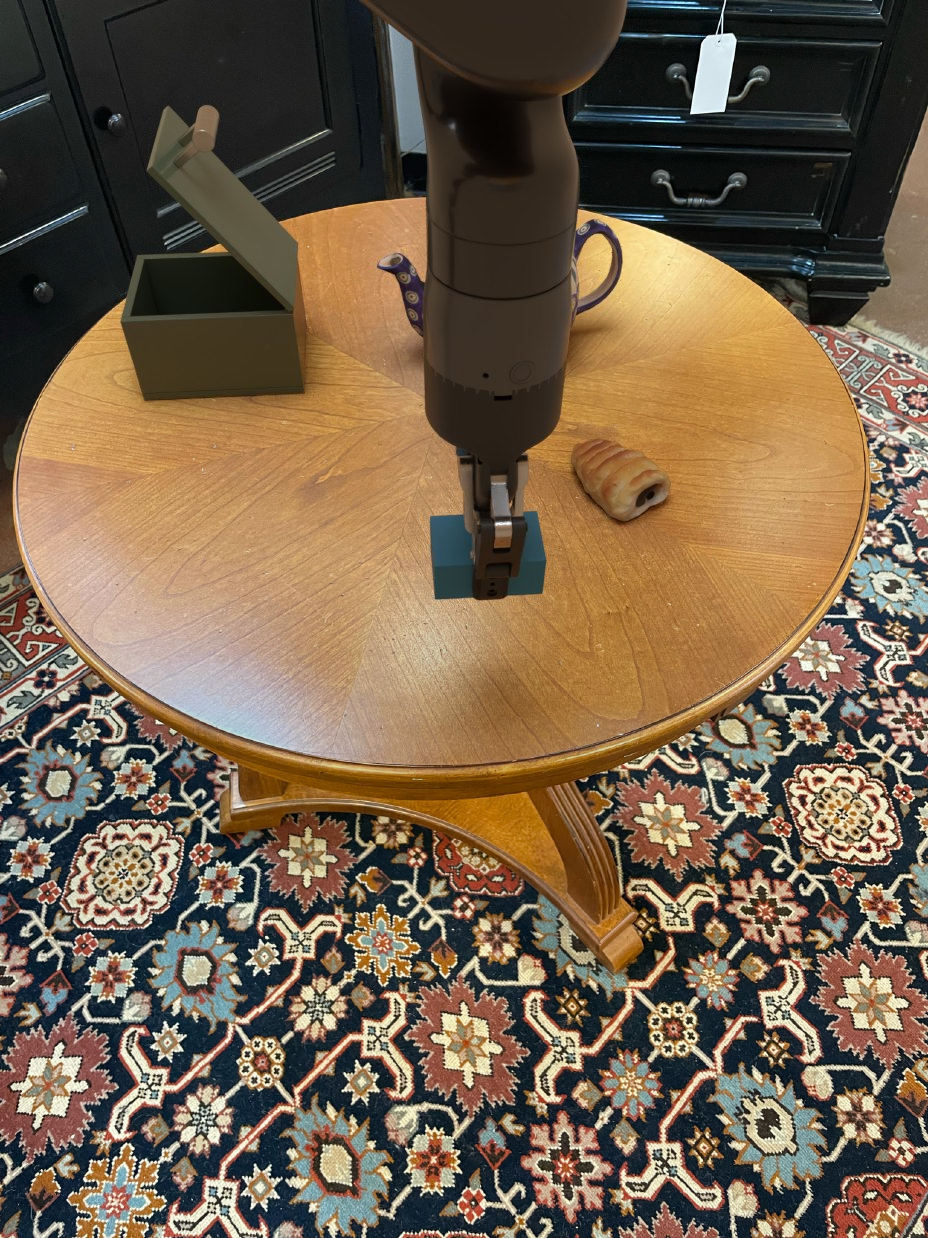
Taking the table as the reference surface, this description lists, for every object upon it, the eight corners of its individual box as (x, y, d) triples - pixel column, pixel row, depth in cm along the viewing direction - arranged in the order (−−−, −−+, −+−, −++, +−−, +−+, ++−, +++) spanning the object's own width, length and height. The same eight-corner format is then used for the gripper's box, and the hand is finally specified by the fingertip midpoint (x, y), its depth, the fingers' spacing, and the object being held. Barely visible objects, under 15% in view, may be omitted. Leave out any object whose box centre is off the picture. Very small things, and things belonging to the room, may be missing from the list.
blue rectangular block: (434, 600, 61) (434, 566, 59) (430, 549, 64) (429, 515, 62) (542, 594, 62) (546, 560, 59) (533, 544, 65) (537, 510, 62)
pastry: (551, 471, 87) (554, 438, 84) (605, 443, 90) (611, 410, 87) (621, 529, 82) (627, 496, 79) (676, 498, 85) (685, 465, 82)
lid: (145, 171, 77) (188, 132, 75) (163, 109, 84) (201, 73, 82) (289, 312, 87) (329, 281, 85) (293, 247, 95) (330, 217, 93)
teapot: (592, 291, 106) (608, 157, 95) (637, 370, 97) (662, 231, 86) (370, 319, 103) (359, 182, 91) (395, 404, 93) (387, 263, 82)
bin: (144, 400, 93) (119, 321, 87) (158, 332, 101) (137, 254, 94) (304, 393, 94) (292, 314, 88) (307, 326, 102) (296, 248, 95)
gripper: (416, 270, 54) (422, 495, 67) (432, 433, 45) (435, 656, 58) (548, 266, 54) (528, 490, 67) (590, 426, 45) (558, 649, 58)
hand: (485, 566), depth 62 cm, fingers closed on blue rectangular block, 4 cm apart
